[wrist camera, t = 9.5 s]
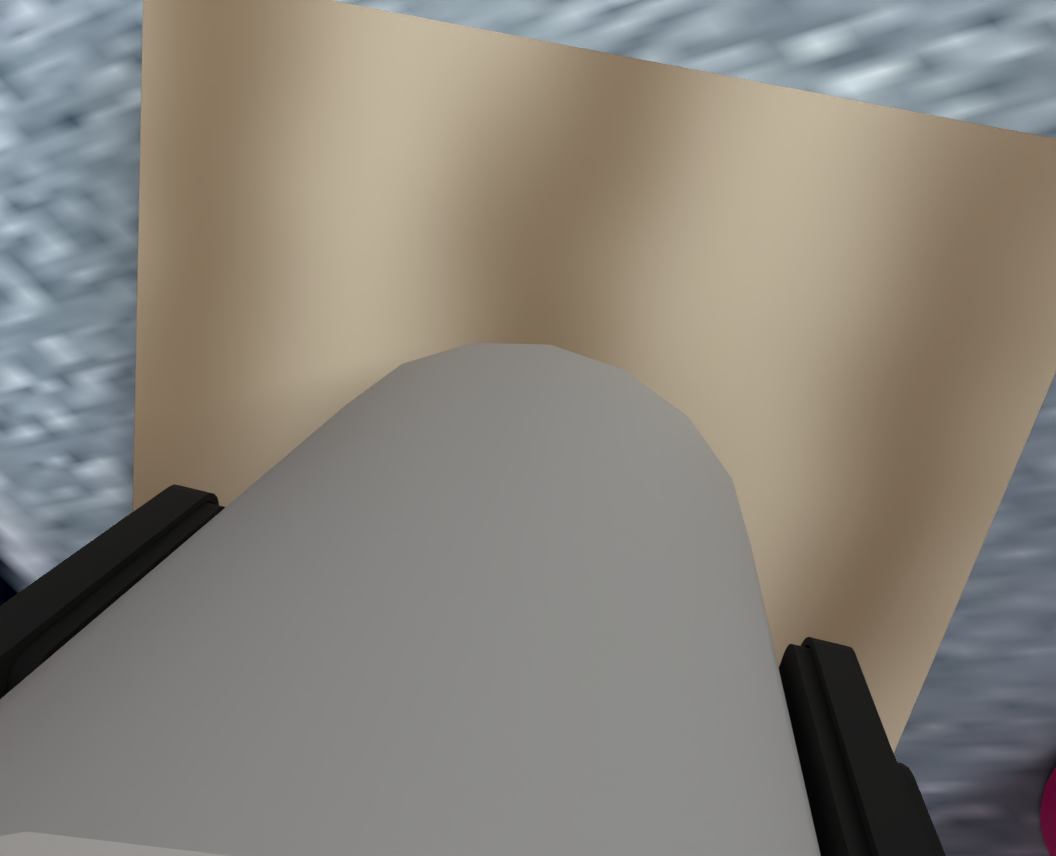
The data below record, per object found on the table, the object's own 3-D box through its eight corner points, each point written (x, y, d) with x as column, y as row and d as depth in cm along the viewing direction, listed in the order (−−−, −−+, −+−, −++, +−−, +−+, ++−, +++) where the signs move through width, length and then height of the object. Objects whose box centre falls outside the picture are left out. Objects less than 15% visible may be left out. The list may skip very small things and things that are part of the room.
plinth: (1057, 153, 15) (1147, 156, 12) (800, 816, 21) (822, 922, 18) (231, -6, 16) (144, -35, 14) (195, 661, 22) (127, 737, 19)
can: (443, 768, 16) (-33, 2160, 5) (236, 440, 15) (-1164, 1442, 3) (816, 644, 14) (1401, 2527, 3) (627, 245, 13) (351, 1161, 1)
